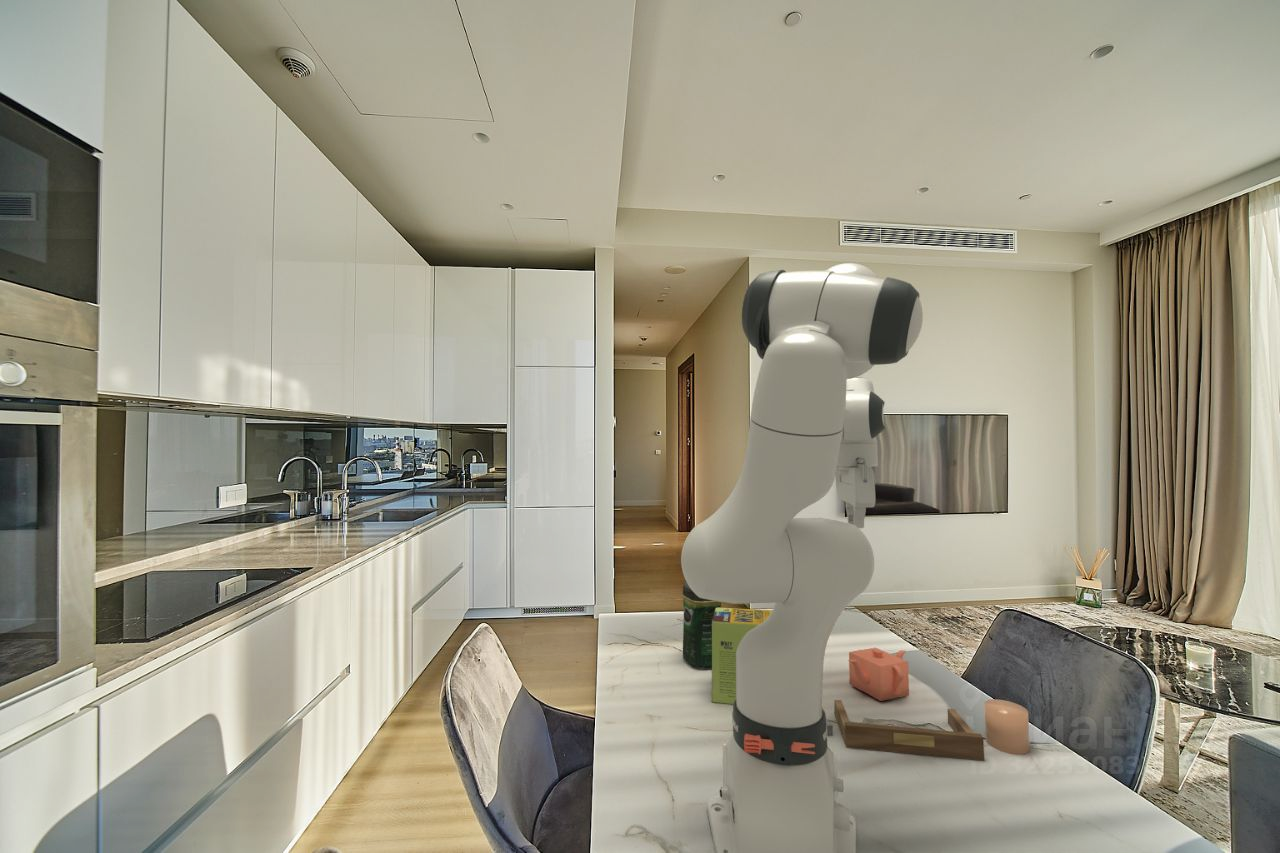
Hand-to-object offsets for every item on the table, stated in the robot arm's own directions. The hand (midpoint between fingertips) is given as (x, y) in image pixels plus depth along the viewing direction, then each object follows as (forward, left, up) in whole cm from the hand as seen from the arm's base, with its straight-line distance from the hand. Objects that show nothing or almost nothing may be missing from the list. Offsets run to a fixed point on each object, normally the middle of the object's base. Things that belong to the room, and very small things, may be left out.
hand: (855, 526), depth 111 cm
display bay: (-16, -4, -33) cm, 37 cm away
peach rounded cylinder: (-16, -20, -33) cm, 42 cm away
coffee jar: (+10, +32, -33) cm, 47 cm away
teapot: (+1, -4, -33) cm, 34 cm away
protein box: (-5, +21, -33) cm, 40 cm away
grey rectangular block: (-18, +12, -34) cm, 40 cm away
